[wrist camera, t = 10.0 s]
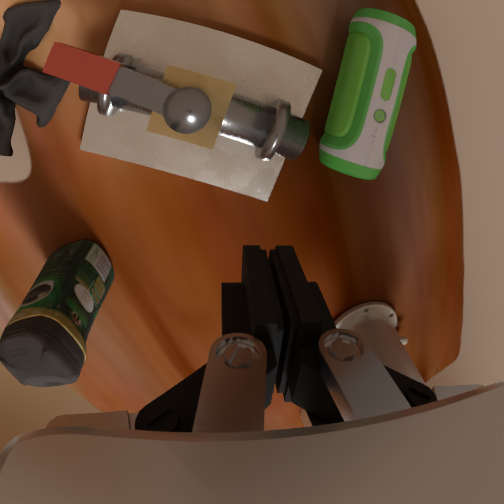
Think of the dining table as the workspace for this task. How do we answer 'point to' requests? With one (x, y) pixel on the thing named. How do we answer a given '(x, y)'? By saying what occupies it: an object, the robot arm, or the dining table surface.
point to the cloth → (26, 68)
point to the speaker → (368, 93)
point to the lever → (131, 86)
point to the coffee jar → (57, 317)
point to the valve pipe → (222, 101)
